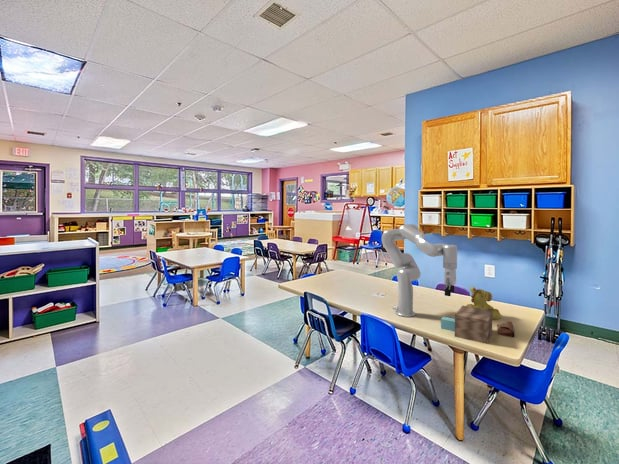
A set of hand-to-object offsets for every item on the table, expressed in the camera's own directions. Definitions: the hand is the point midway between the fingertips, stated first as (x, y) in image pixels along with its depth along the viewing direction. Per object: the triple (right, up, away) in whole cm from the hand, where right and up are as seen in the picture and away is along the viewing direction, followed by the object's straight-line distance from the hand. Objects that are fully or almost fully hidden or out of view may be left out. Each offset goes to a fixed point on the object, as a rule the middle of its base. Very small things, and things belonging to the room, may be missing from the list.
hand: (449, 293), depth 180 cm
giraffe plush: (+31, -19, +21) cm, 42 cm away
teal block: (+2, -21, -2) cm, 21 cm away
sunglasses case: (+31, -21, -4) cm, 38 cm away
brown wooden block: (+10, -21, -8) cm, 25 cm away
